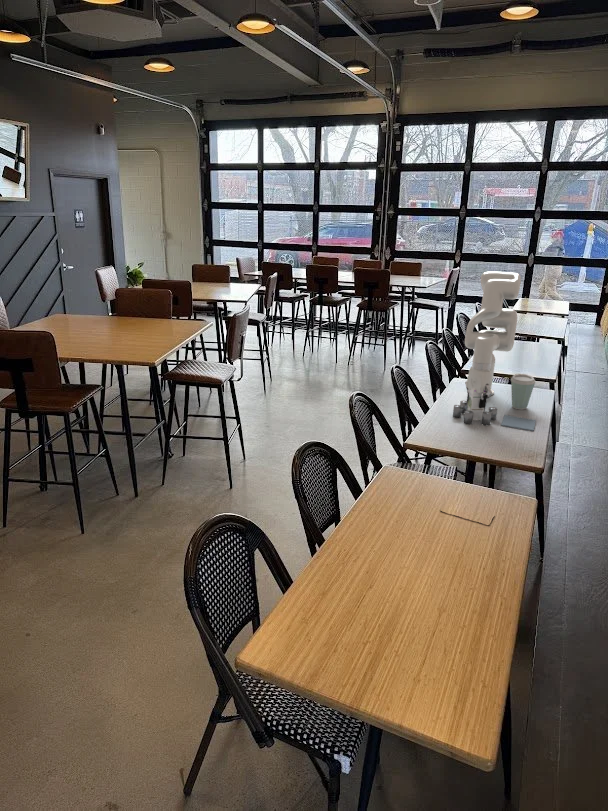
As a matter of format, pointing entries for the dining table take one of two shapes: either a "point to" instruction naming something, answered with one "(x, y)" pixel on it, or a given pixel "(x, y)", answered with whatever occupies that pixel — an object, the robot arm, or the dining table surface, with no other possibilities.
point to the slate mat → (518, 423)
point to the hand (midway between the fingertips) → (476, 404)
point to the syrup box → (475, 404)
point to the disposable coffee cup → (521, 390)
